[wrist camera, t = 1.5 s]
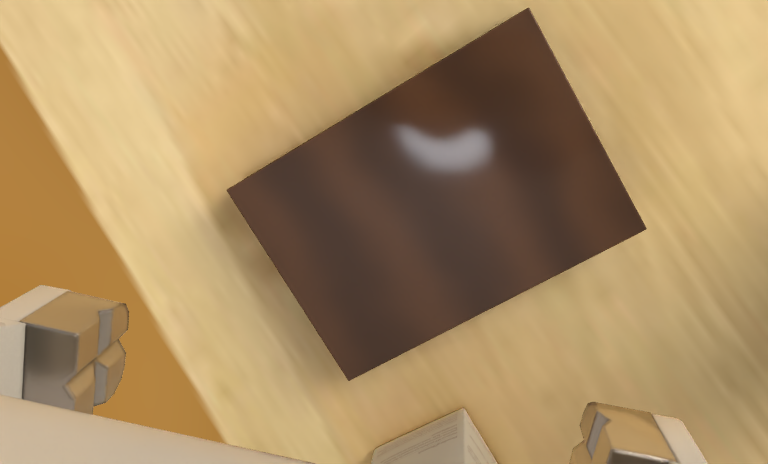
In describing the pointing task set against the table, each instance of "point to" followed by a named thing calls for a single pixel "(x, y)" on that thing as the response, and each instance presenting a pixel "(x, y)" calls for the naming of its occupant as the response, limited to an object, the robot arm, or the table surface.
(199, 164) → the table surface
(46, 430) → the robot arm
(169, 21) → the table surface
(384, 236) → the chopping board
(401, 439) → the white packaging box
